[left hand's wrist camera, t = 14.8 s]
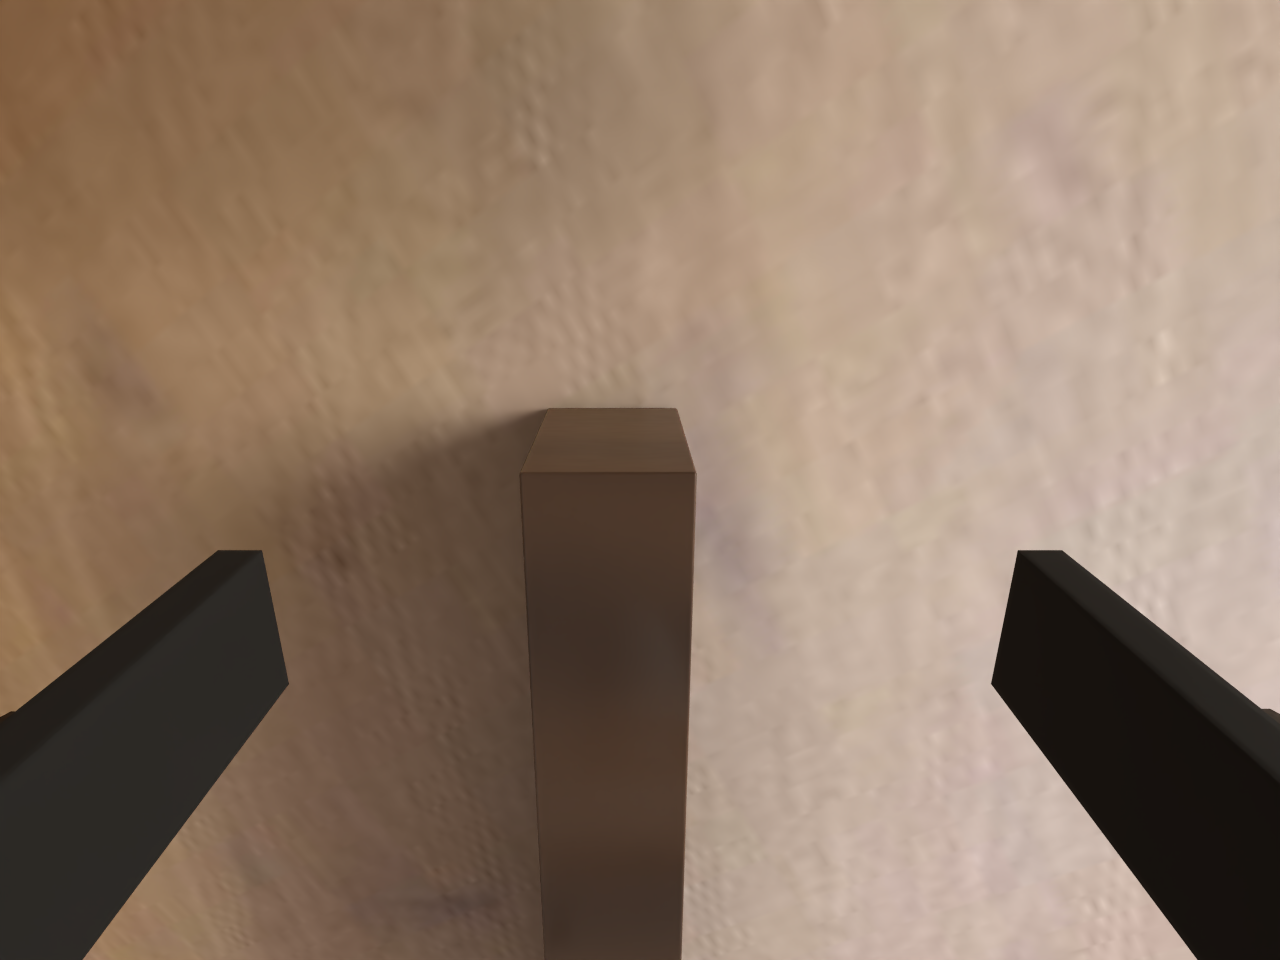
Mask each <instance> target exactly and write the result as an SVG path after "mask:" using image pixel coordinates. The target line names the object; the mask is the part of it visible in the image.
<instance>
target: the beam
mask: <svg viewBox="0 0 1280 960" xmlns="http://www.w3.org/2000/svg"><path fill="white" fill-rule="evenodd" d="M696 479H697V474H696V471H695V467H694V464H693V461H692V457H691V454H690V451H689V447H688V444H687V441H686V437H685V434H684V431H683V427H682V424H681V421H680V417H679V414H678V411H677V409H676V408H549V409H548V410H547V413H546V415H545V417H544V420H543V422H542V424H541V426H540V429H539V431H538V433H537V436H536V438H535V440H534V442H533V445H532V447H531V449H530V452H529V454H528V456H527V458H526V461H525V463H524V465H523V468H522V470H521V472H520V494H521V513H522V533H523V552H524V571H525V590H526V610H527V629H528V648H529V667H530V687H531V706H532V725H533V744H534V764H535V783H536V802H537V821H538V841H539V860H540V879H541V898H542V918H543V937H544V956H545V960H681V954H682V922H683V890H684V859H685V827H686V795H687V764H688V732H689V700H690V669H691V637H692V605H693V574H694V542H695V511H696Z"/></svg>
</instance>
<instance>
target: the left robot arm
mask: <svg viewBox="0 0 1280 960" xmlns="http://www.w3.org/2000/svg"><path fill="white" fill-rule="evenodd" d="M288 684H289V682H288V677H287V672H286V667H285V662H284V657H283V652H282V647H281V642H280V637H279V632H278V627H277V622H276V617H275V612H274V607H273V603H272V598H271V593H270V588H269V583H268V578H267V573H266V568H265V563H264V558H263V553H262V550H218V551H217V552H215V553H214V554H213V555H212V556H210V557H209V558H208V559H207V560H205V561H204V562H203V563H202V564H200V565H199V566H198V567H196V568H195V569H194V570H193V571H191V572H190V573H189V574H188V575H186V576H185V577H184V578H183V579H181V580H180V581H179V582H178V583H176V584H175V585H174V586H173V587H171V588H170V589H169V590H168V591H166V592H165V593H164V594H163V595H161V596H160V597H159V598H158V599H156V600H155V601H154V602H153V603H151V604H150V605H149V606H147V607H146V608H145V609H144V610H142V611H141V612H140V613H139V614H137V615H136V616H135V617H134V618H132V619H131V620H130V621H129V622H127V623H126V624H125V625H124V626H122V627H121V628H120V629H119V630H117V631H116V632H115V633H114V634H112V635H111V636H110V637H109V638H107V639H106V640H105V641H104V642H102V643H101V644H100V645H99V646H97V647H96V648H95V649H93V650H92V651H91V652H90V653H88V654H87V655H86V656H85V657H83V658H82V659H81V660H80V661H78V662H77V663H76V664H75V665H73V666H72V667H71V668H70V669H68V670H67V671H66V672H65V673H63V674H62V675H61V676H60V677H58V678H57V679H56V680H55V681H53V682H52V683H51V684H50V685H48V686H47V687H46V688H44V689H43V690H42V691H41V692H39V693H38V694H37V695H36V696H34V697H33V698H32V699H31V700H29V701H28V702H27V703H26V704H24V705H23V706H22V707H21V708H19V709H18V710H17V711H11V712H9V713H7V714H5V715H3V716H2V717H0V960H83V958H84V957H85V956H86V954H87V953H88V952H89V950H90V949H91V948H92V946H93V945H94V944H95V942H96V941H97V940H98V938H99V937H100V936H101V934H102V933H103V932H104V930H105V929H106V928H107V926H108V925H109V924H110V922H111V921H112V920H113V918H114V917H115V916H116V914H117V913H118V912H119V910H120V909H121V908H122V906H123V905H124V904H125V902H126V901H127V900H128V898H129V897H130V895H131V894H132V893H133V891H134V890H135V889H136V887H137V886H138V885H139V883H140V882H141V881H142V879H143V878H144V877H145V875H146V874H147V873H148V871H149V870H150V869H151V867H152V866H153V865H154V863H155V862H156V861H157V859H158V858H159V857H160V855H161V854H162V853H163V851H164V850H165V849H166V847H167V846H168V845H169V843H170V842H171V841H172V839H173V838H174V837H175V835H176V834H177V833H178V831H179V830H180V829H181V827H182V826H183V825H184V823H185V822H186V821H187V819H188V818H189V817H190V815H191V814H192V813H193V811H194V810H195V809H196V807H197V806H198V805H199V803H200V802H201V801H202V799H203V798H204V797H205V795H206V794H207V793H208V791H209V790H210V789H211V787H212V786H213V785H214V783H215V782H216V781H217V779H218V778H219V777H220V775H221V774H222V773H223V771H224V770H225V769H226V767H227V766H228V765H229V763H230V762H231V760H232V759H233V758H234V756H235V755H236V754H237V752H238V751H239V750H240V748H241V747H242V746H243V744H244V743H245V742H246V740H247V739H248V738H249V736H250V735H251V734H252V732H253V731H254V730H255V728H256V727H257V726H258V724H259V723H260V722H261V720H262V719H263V718H264V716H265V715H266V714H267V712H268V711H269V710H270V708H271V707H272V706H273V704H274V703H275V702H276V700H277V699H278V698H279V696H280V695H281V694H282V692H283V691H284V690H285V688H286V687H287V686H288ZM991 684H992V686H993V687H994V688H995V690H996V691H997V692H998V694H999V695H1000V696H1001V698H1002V699H1003V700H1004V702H1005V703H1006V704H1007V706H1008V707H1009V708H1010V710H1011V711H1012V712H1013V714H1014V715H1015V716H1016V718H1017V719H1018V720H1019V722H1020V723H1021V724H1022V726H1023V727H1024V728H1025V730H1026V731H1027V732H1028V734H1029V735H1030V736H1031V738H1032V739H1033V740H1034V742H1035V743H1036V744H1037V746H1038V747H1039V748H1040V750H1041V751H1042V752H1043V754H1044V755H1045V756H1046V758H1047V759H1048V760H1049V762H1050V763H1051V765H1052V766H1053V767H1054V769H1055V770H1056V771H1057V773H1058V774H1059V775H1060V777H1061V778H1062V779H1063V781H1064V782H1065V783H1066V785H1067V786H1068V787H1069V789H1070V790H1071V791H1072V793H1073V794H1074V795H1075V797H1076V798H1077V799H1078V801H1079V802H1080V803H1081V805H1082V806H1083V807H1084V809H1085V810H1086V811H1087V813H1088V814H1089V815H1090V817H1091V818H1092V819H1093V821H1094V822H1095V823H1096V825H1097V826H1098V827H1099V829H1100V830H1101V831H1102V833H1103V834H1104V835H1105V837H1106V838H1107V839H1108V841H1109V842H1110V843H1111V845H1112V846H1113V847H1114V849H1115V850H1116V851H1117V853H1118V854H1119V855H1120V857H1121V858H1122V859H1123V861H1124V862H1125V863H1126V865H1127V866H1128V867H1129V869H1130V870H1131V871H1132V873H1133V874H1134V875H1135V877H1136V878H1137V879H1138V881H1139V882H1140V883H1141V885H1142V886H1143V887H1144V889H1145V890H1146V891H1147V893H1148V894H1149V895H1150V897H1151V898H1152V900H1153V901H1154V902H1155V904H1156V905H1157V906H1158V908H1159V909H1160V910H1161V912H1162V913H1163V914H1164V916H1165V917H1166V918H1167V920H1168V921H1169V922H1170V924H1171V925H1172V926H1173V928H1174V929H1175V930H1176V932H1177V933H1178V934H1179V936H1180V937H1181V938H1182V940H1183V941H1184V942H1185V944H1186V945H1187V946H1188V948H1189V949H1190V950H1191V952H1192V953H1193V954H1194V956H1195V957H1196V958H1197V960H1280V714H1279V713H1277V712H1275V711H1273V710H1271V709H1261V708H1259V707H1258V706H1257V705H1256V704H1254V703H1253V702H1252V701H1251V700H1249V699H1248V698H1247V697H1246V696H1244V695H1243V694H1242V693H1241V692H1239V691H1238V690H1237V689H1236V688H1234V687H1233V686H1232V685H1230V684H1229V683H1228V682H1227V681H1225V680H1224V679H1223V678H1222V677H1220V676H1219V675H1218V674H1217V673H1215V672H1214V671H1213V670H1212V669H1210V668H1209V667H1208V666H1207V665H1205V664H1204V663H1203V662H1202V661H1200V660H1199V659H1198V658H1197V657H1195V656H1194V655H1193V654H1192V653H1190V652H1189V651H1188V650H1187V649H1185V648H1184V647H1183V646H1181V645H1180V644H1179V643H1178V642H1176V641H1175V640H1174V639H1173V638H1171V637H1170V636H1169V635H1168V634H1166V633H1165V632H1164V631H1163V630H1161V629H1160V628H1159V627H1158V626H1156V625H1155V624H1154V623H1153V622H1151V621H1150V620H1149V619H1148V618H1146V617H1145V616H1144V615H1143V614H1141V613H1140V612H1139V611H1138V610H1136V609H1135V608H1134V607H1133V606H1131V605H1130V604H1129V603H1127V602H1126V601H1125V600H1124V599H1122V598H1121V597H1120V596H1119V595H1117V594H1116V593H1115V592H1114V591H1112V590H1111V589H1110V588H1109V587H1107V586H1106V585H1105V584H1104V583H1102V582H1101V581H1100V580H1099V579H1097V578H1096V577H1095V576H1094V575H1092V574H1091V573H1090V572H1089V571H1087V570H1086V569H1085V568H1084V567H1082V566H1081V565H1080V564H1078V563H1077V562H1076V561H1075V560H1073V559H1072V558H1071V557H1070V556H1068V555H1067V554H1066V553H1065V552H1063V551H1062V550H1018V553H1017V558H1016V563H1015V568H1014V573H1013V578H1012V583H1011V588H1010V593H1009V598H1008V603H1007V607H1006V612H1005V617H1004V622H1003V627H1002V632H1001V637H1000V642H999V647H998V652H997V657H996V662H995V667H994V672H993V677H992V682H991Z"/></svg>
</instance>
